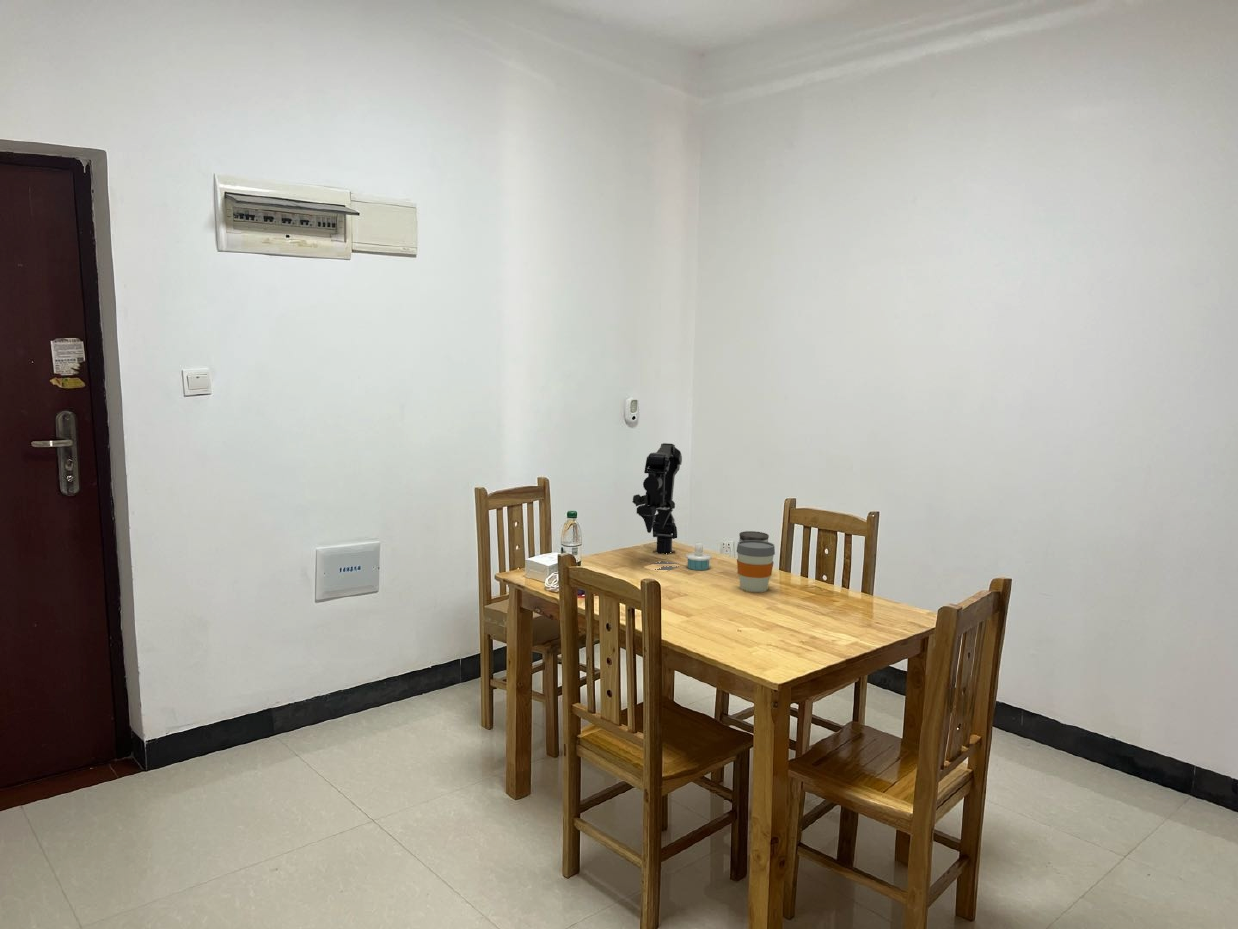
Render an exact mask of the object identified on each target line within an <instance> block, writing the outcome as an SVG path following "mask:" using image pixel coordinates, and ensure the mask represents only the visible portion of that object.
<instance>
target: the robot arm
mask: <svg viewBox="0 0 1238 929" xmlns="http://www.w3.org/2000/svg"><path fill="white" fill-rule="evenodd" d="M682 462H683V457H682V453H681V450H680V449H678V448H677V447H676V445H675V444H674V443H666V442H663V443H661V445H660V448H658V450H657V451H656V452H650V453H649V454H648V456H646V460H645V465H644V471H643V472H644V474H647V477H646V478H645V479H644V480H643V483H642V485H643V489H644V490H645V494H644V495H640V494H638V493H637V494H634V495H633V497H632V503H633V504H634V505H635V507H637V508H636V515H638V516H640V517H641V518H642V519H643V522H644V524H645V528H646V529H645V530H646V531H647V533H648V534H651V533H652V537H653V538H656V550H653V551H652V552H653V553H655V552H658V553H657V554H661V553H664V554H663V555H666V553H667V555H669V554H668V553H670V552H674V553H676V550H673V539H678V528H677V525H676V523H675V522H676V520H675V517H674V516H673V514H672V512H673V511H674V509H675V508H676V507H675V506H676V503H675V502H674V500H673V498H674V488H675V477H676V475H677V473H678V472H679V471H680V467H681V465H682ZM670 554H671V553H670Z"/></svg>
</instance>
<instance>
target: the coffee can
mask: <svg viewBox="0 0 1238 929" xmlns="http://www.w3.org/2000/svg"><path fill="white" fill-rule="evenodd" d="M769 538H770V536H769V534H768V533H766V532H762V531H753V530H750V531H749V530H746V531H741V532H739V540H738V542H740V541H745V540H759V541H766V542H769Z"/></svg>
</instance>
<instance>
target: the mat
mask: <svg viewBox="0 0 1238 929" xmlns="http://www.w3.org/2000/svg"><path fill="white" fill-rule="evenodd" d="M663 561H664V560H663ZM656 562H657V561H656ZM667 562H668V563H667ZM651 564H678V562H670V561H666V562H665V561H664V562H660V563H659V562H657V563H654V562H652V563H651ZM677 568H679V566H678V567H677V566H676V567H672V566H669V567H667V566H666V567H664V566H663V567H661V569H660V568H659V569H657V570H669V571H672V570H674V569H677ZM655 570H656V569H655Z"/></svg>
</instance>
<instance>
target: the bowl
mask: <svg viewBox="0 0 1238 929" xmlns="http://www.w3.org/2000/svg"><path fill="white" fill-rule="evenodd" d="M686 567H687V569H690V570H693V571H706V570H709V569H710V560H706V561H696V560H690V559H687V566H686Z"/></svg>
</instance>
